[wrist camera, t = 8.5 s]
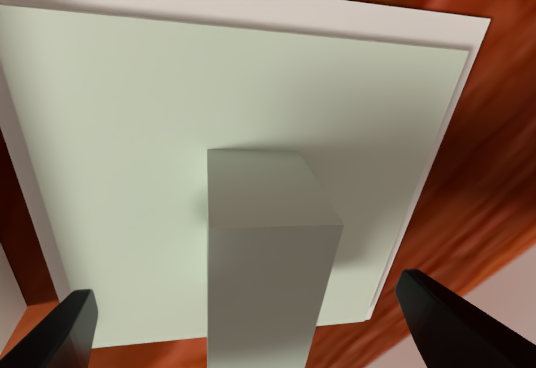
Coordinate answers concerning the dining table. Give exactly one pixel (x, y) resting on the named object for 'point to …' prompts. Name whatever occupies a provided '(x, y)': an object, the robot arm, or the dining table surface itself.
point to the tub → (9, 301)
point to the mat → (263, 17)
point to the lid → (222, 170)
